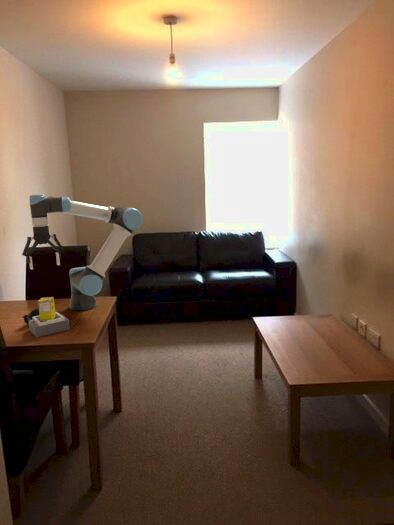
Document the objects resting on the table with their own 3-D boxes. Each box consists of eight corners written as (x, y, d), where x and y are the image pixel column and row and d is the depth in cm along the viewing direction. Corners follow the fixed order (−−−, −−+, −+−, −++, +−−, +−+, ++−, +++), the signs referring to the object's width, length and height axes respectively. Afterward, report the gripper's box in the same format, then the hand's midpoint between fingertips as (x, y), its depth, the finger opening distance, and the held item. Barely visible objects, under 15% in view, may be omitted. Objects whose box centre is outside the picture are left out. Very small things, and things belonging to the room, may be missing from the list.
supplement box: (56, 317, 211) (53, 296, 209) (52, 321, 205) (50, 300, 203) (44, 318, 210) (41, 297, 208) (40, 322, 205) (37, 300, 202)
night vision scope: (49, 320, 231) (59, 309, 227) (27, 332, 214) (38, 321, 211) (39, 309, 231) (50, 298, 227) (17, 320, 214) (28, 309, 211)
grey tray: (61, 323, 218) (60, 310, 217) (69, 329, 208) (68, 316, 207) (29, 330, 209) (28, 317, 208) (36, 337, 199) (34, 324, 198)
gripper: (62, 222, 223) (66, 262, 227) (12, 227, 209) (17, 269, 213) (67, 223, 217) (71, 264, 221) (16, 228, 203) (21, 272, 207)
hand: (45, 267), depth 217 cm, fingers open, 13 cm apart
